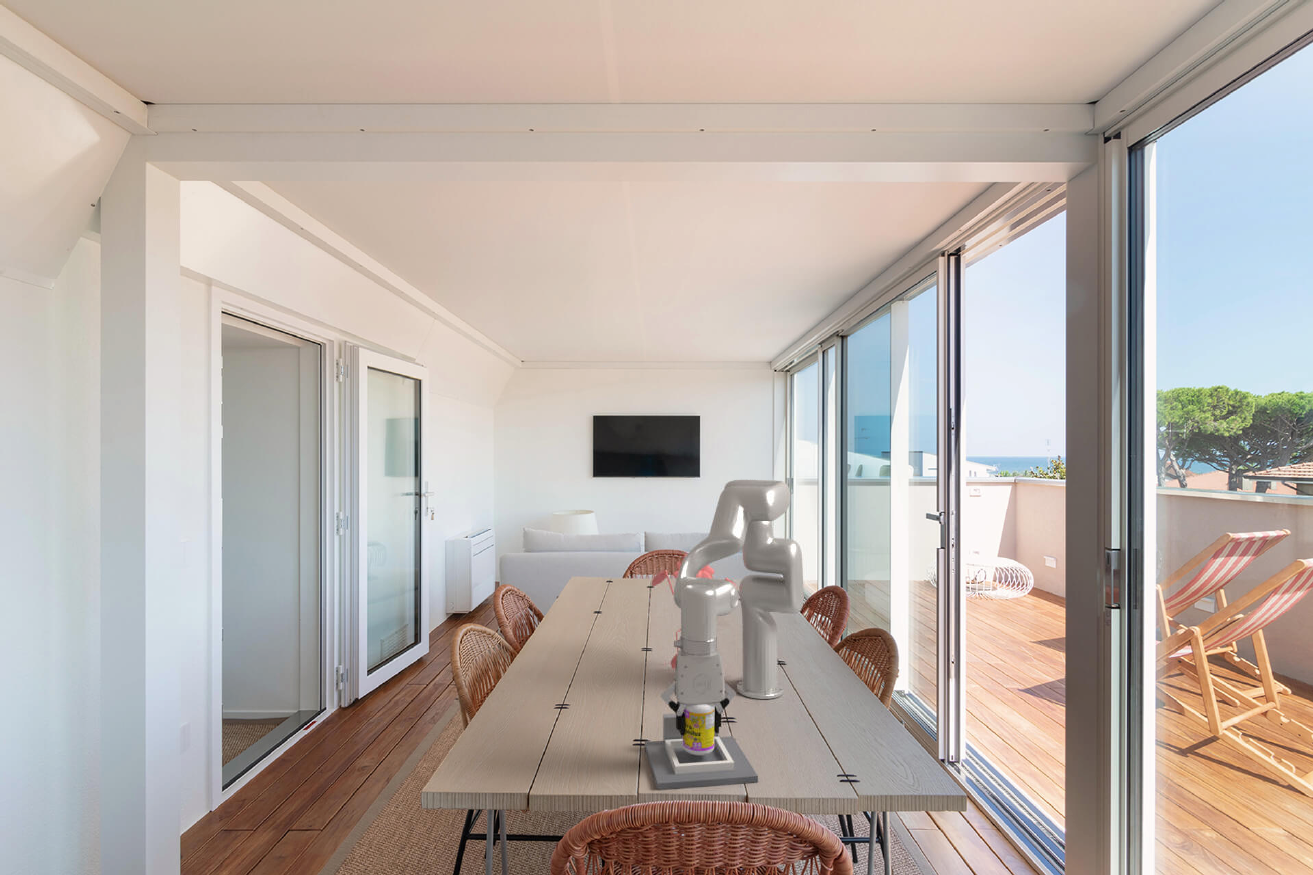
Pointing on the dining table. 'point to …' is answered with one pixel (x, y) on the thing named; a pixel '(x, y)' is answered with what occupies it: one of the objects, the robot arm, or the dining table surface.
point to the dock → (696, 761)
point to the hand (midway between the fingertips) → (698, 730)
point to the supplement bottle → (699, 728)
